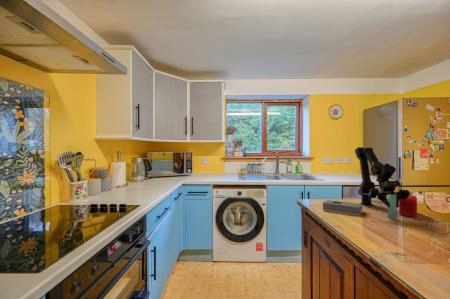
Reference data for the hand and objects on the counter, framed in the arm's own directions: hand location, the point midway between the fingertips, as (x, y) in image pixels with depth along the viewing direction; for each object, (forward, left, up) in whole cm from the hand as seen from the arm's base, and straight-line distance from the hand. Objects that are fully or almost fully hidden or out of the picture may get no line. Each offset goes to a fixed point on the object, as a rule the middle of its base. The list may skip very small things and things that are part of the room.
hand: (393, 207), depth 125 cm
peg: (-1, -1, -7) cm, 7 cm away
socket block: (-3, -26, -7) cm, 26 cm away
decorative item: (-18, +6, -7) cm, 20 cm away
